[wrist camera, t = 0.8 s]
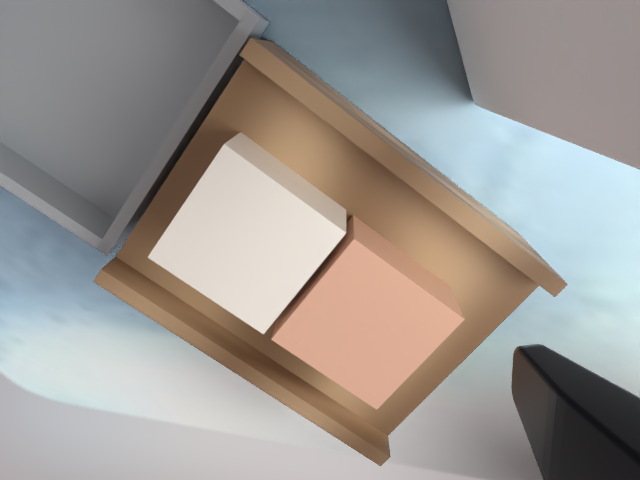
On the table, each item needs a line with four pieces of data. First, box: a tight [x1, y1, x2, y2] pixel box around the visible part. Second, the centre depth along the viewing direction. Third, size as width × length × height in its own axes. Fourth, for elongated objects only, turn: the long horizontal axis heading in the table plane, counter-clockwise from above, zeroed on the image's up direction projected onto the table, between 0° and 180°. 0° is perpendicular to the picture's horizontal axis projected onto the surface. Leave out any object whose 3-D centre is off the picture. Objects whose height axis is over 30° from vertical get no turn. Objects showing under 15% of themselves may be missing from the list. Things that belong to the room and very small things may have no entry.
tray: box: [0, 0, 270, 255], centre depth 19 cm, size 10×11×2 cm
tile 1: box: [148, 132, 346, 334], centre depth 17 cm, size 4×4×2 cm
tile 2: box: [271, 215, 465, 410], centre depth 18 cm, size 4×4×2 cm
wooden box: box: [93, 38, 568, 466], centre depth 20 cm, size 13×10×5 cm
